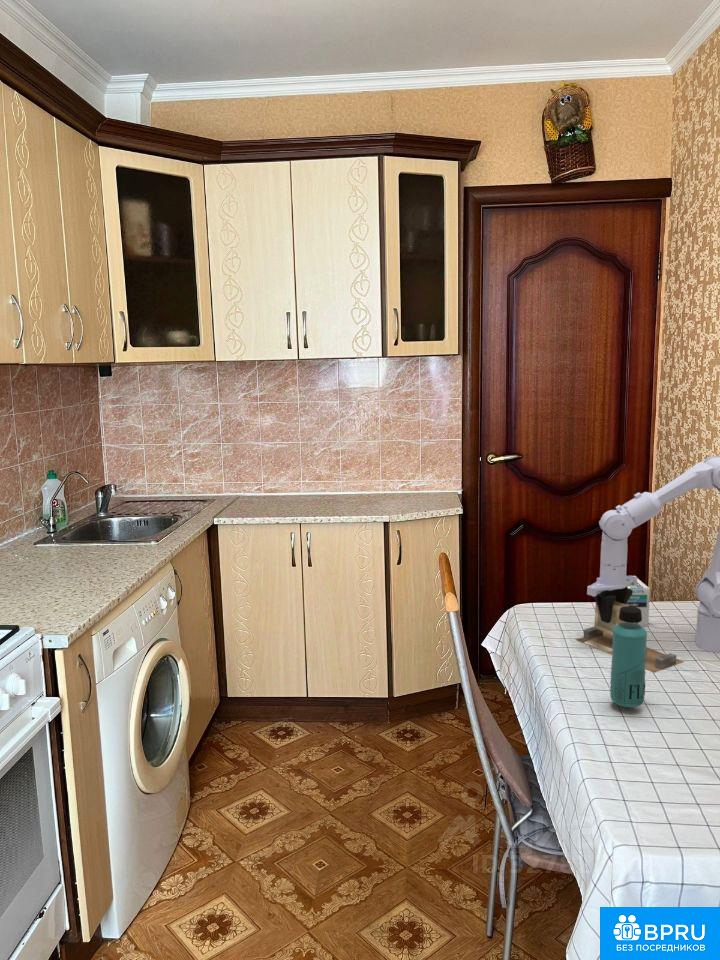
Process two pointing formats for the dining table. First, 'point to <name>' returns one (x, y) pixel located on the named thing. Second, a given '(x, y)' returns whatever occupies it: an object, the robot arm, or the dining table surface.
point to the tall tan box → (614, 618)
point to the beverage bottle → (628, 659)
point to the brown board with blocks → (605, 643)
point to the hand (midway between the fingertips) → (610, 619)
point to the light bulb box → (640, 600)
